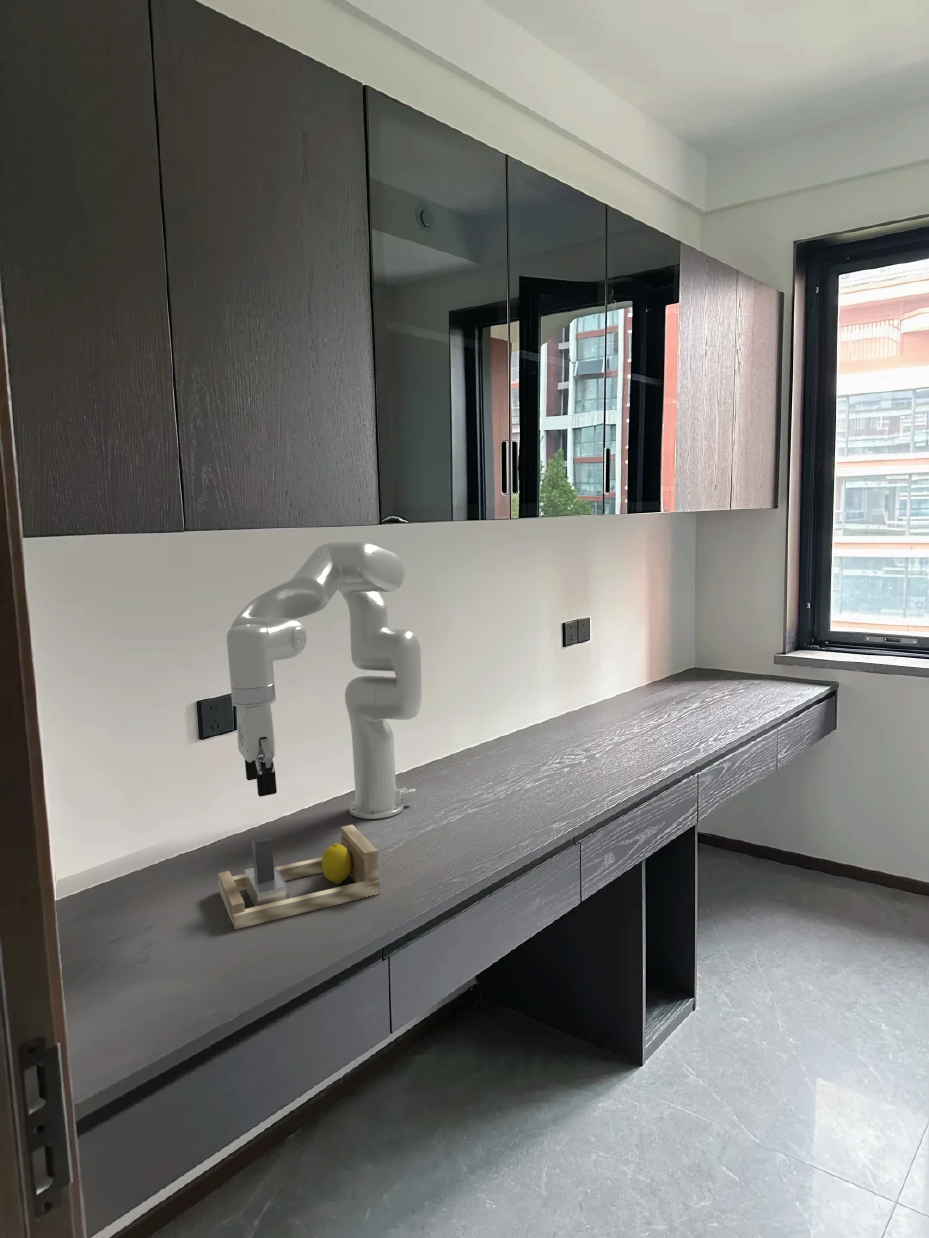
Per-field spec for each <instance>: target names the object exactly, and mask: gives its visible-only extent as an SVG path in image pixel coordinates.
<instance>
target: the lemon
mask: <svg viewBox="0 0 929 1238" xmlns="http://www.w3.org/2000/svg"><path fill="white" fill-rule="evenodd" d="M322 857H323V858H322V869H323V872H322V873H323V876H325V878H326V879H327V880H328V881H330V882H332V883H335V884H336V885H340V884H341V883H342V882H343V881H345V880H346V879H347V878H348V877H349V876H350V875H349V874H350V872H351V867H352V861H351V856H350V853H349V851H348V850H347V848H346V847H344V846H343V845H341V843H340V844H339V843H337V842H335V843H333V844H331V845H329V846H328V847H327V848H326V849H325V850H324V852H323V854H322Z"/></svg>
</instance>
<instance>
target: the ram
mask: <svg viewBox="0 0 929 1238" xmlns="http://www.w3.org/2000/svg"><path fill="white" fill-rule="evenodd" d="M251 847H252V850H251V851H252V863H253V867H251V868H246V869H244V874H245V882H246V893H247V895H248V897H249V899H250V901H251V903H252V905H253V907H256V906H260V905H265V904H269V903H273V902H277V901H282V900H286V899H290V893H289V891H290V890H289V886H288V884H287V881H284V879H283V878H282V876H281V874H280V873H279V871H278V870H277V868H276V867H277V866H275V864H274V851H273V839H272V838H271V836H270V835H269V834H268V833H267V834H262V835H256V836H252V837H251Z"/></svg>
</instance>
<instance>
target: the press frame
mask: <svg viewBox="0 0 929 1238" xmlns="http://www.w3.org/2000/svg"><path fill="white" fill-rule="evenodd" d="M340 834H341V836H340V845H343V846H344V847H346V848H347V850H348V851H349V853H350V856H351V861H352V867H351V872H350V874H349V876H350V877H351V879H352V880H353V881H354V882H355V883H350V884H346V885H341V886H338V887H337V886H336V887H333V888H329V889H325V890H324V889H323V890H320V891H317V892H316V891H315V892H312V893H307V894H304V895H300V896H295V897H289V899H286V900H282V901H277V902H273V903H269V904H265V905H260V906H256V907H254V906H253V907H249V908H246V907H245V905H246V904H245V901H244V899H243V896H242V894H241V893H240V892H241V891H245V890H246V882H245V873H244V874H237V875H233V876H232V873H231V872H230V870H226V871H222V872H218V874H217V876H218V880H217V883H218V892H219V894H220V898H221V900H222V902H223V904H224V907H225V909H226V912H227V913H228V916H229V918H230V921H231V923H232V925H233V927H234V928H233V929H234V930H238V929H243V928H247V927H250V926H255V925H259V924H262V923H266V922H268V923H269V922H272V921H275V920H279V919H284V918H286V917H288V918H289V917H291V916H292V917H293V916H295V915H300V914H304V913H307V912H311V911H312V912H313V911H315V910H321V909H323V908H327V907H328V908H329V907H333V906H336V905H340V904H345V903H348V902H352V901H356V900H357V901H358V900H360V899H361V898H362V899H365V898H364V897H366V898H369V897H368V896H370V897H373V896H372V895H374V896H377V894H378V895H380V894H381V891H380V890H381V887H380V877H379V858H378V856H379V855H378V850H377V849H376V848H375V846H374V845H373V844H372V843H371V842H370V841H369V840H368V839H367V838H366V837H365V836H364V835H363V834H362V833H361V831H359V830H358V828H357V827H355V825H353V824H349V825H345V826H340ZM322 858H323V856H321V857H320V856H319V857H316V858H311V859H307V860H303V861H297V862H294V863H293V862H292V863H289V864H285V865H284V864H283V865H280V866H279V865H278V866H276V868H277V870H278V871H279V873H280V874H281V876H282V878H283V879H284V881H285V882H287V881H289V880H294V879H298V878H303V877H308V876H313V875H316V874H320V873H323V869H322ZM362 899H361V900H362Z"/></svg>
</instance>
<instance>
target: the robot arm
mask: <svg viewBox="0 0 929 1238" xmlns="http://www.w3.org/2000/svg"><path fill="white" fill-rule="evenodd" d="M404 580H405V567H404V563H403V562H402V560H401V558H400V557H399V556H398V555H397V554H396V553H394V552H392V551H391V550H388V549H385V548H382V547H381V546H378V545H376V544H372V543H370V542H366V541H365V542H364V541H346V542H343V541H341V542H340V541H339V542H327V543H323V544H321V545H319V546H318V547H317V548H316V549H315V550H314V551H313V552H312V554H311V555H310V556H309V557H308V558H307V559H306V560H305V562H304V563H303V565H301V567H300V568H299V570H298V571H297V572H296V573H295V574H294V576H293V577H292V578H291V579H290V580H288V581H286V582H283V583H280V584H279V585H277V586H275V587H273V588H272V589H270V590H267V591H266V592H264V593H262V594H260V595H258V596H256V597H255V598H253V599H252V600H251V601H250V602H249V603H248V604H246V606H245V607H244V608H243V609H242V610H241V612H240V613H239V614H238V615H237V616H236V618H235V619H234V621H233V622H232V624H231V626H230V629H229V630H228V631H227V634H226V645H227V657H228V658H227V659H228V666H229V667H228V669H229V678H230V679H229V680H230V691H231V701H232V702H231V703H232V706H234V707H235V708H236V731H237V747H238V748H237V749H238V751H239V753H240V754H241V755H242V756H241V757H243V759H244V766H245V779H246V780H247V781H252V780H253V781H254V780H256V787H257V789H256V790H257V795H258V797H261V798H262V797H266V796H271V795H275V794H277V789H278V787H277V780H276V779H277V778H276V776H277V775H276V769H275V764H274V760H273V759H274V758H275V757H276V740H275V731H274V730H275V729H274V722H273V721H274V720H273V713H272V712H273V711H272V704H274V703H275V702H276V688H275V686H276V685H275V676H274V664H273V663H274V661H279V660H288V659H293V658H295V657H297V656H298V655H300V653H302V652H303V650H304V648H305V646H306V644H307V639H308V637H307V635H308V634H307V631H306V628H305V626H304V625H303V624H302V623H301V622H299V621H298V619H301V618H304V617H307V616H311V615H313V614H316V613H318V612H321V611H322V610H323V609H324V608H326V606H327V605H328V604H329V602H330V600H331V599H332V598H333V596H334V595H335V593H336V592H337V591H339V593H340V594H341V595H342V597H343V598H344V600H345V602H346V604H347V606H348V612H349V622H350V623H349V624H350V628H349V629H350V631H349V632H350V653H351V661H352V664H353V665H354V666H355V668H358V669H359V670H365V671H373V672H374V671H375V672H377V671H379V672H394V675H395V676H383V675H382V676H380V675H363V676H357V677H355V678H353V679H352V680H350V681H349V682H348V684H347V686H346V688H345V692H344V698H345V699H344V702H345V704H346V705H345V706H346V710H347V713H348V718H349V724H350V729H351V732H350V733H351V742H352V743H351V745H352V746H351V747H352V758H353V759H352V761H353V762H352V763H353V777H354V780H353V781H354V793H355V797H354V798H355V800H354V801H353V802H351V803H350V805H349V813H350V815H352V816H353V817H356V818H357V819H358V818H359V819H366V820H378V819H385V818H390V817H393V816H395V815H398V814H399V813H400V812H402V811H403V810H404V805H405V803H404V800H405V799H406V798H409V799H410V798H414V797H417V789H416V788H409V789H408V787H406V786H405V787H401V788H398V786H397V782H396V778H397V777H396V764H395V763H396V761H395V741H394V739H395V738H394V734H393V730H392V727H391V726H390V724H389V723H388V721H387V720H399V721H401V720H402V721H406V720H407V721H408V720H412V719H414V718H416V716H418V714H419V712H420V709H421V705H422V655H421V653H422V652H421V646H420V642H419V638H418V637H417V636H416V634H415V633H414V632H412V631H411V630H407V629H401V628H400V629H397V628H396V629H395V628H389V623H388V621H389V619H388V606H387V604H386V602H385V599H384V598H383V595H381V593H390V592H395V591H397V590H398V589H399V588H400V587H401V586H402V584H403V582H404ZM296 619H297V620H296Z"/></svg>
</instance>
